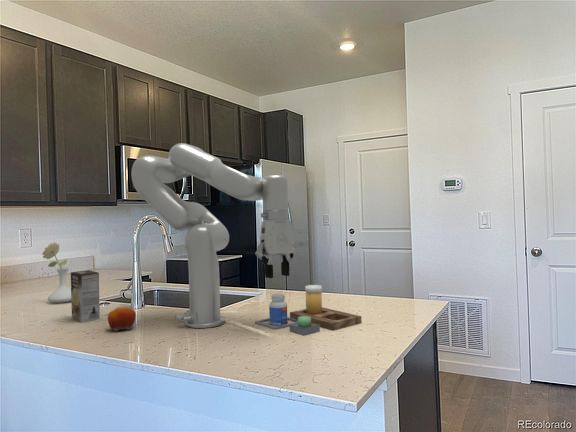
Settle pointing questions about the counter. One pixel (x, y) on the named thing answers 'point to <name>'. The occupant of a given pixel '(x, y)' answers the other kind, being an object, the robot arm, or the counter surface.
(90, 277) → the coffee box
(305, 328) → the button housing
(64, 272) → the flower in vase
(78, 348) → the counter surface
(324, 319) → the wooden bottle holder
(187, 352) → the counter surface
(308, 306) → the seated bottle
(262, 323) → the gray square frame
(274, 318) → the pill bottle
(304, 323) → the button
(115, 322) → the fruit
